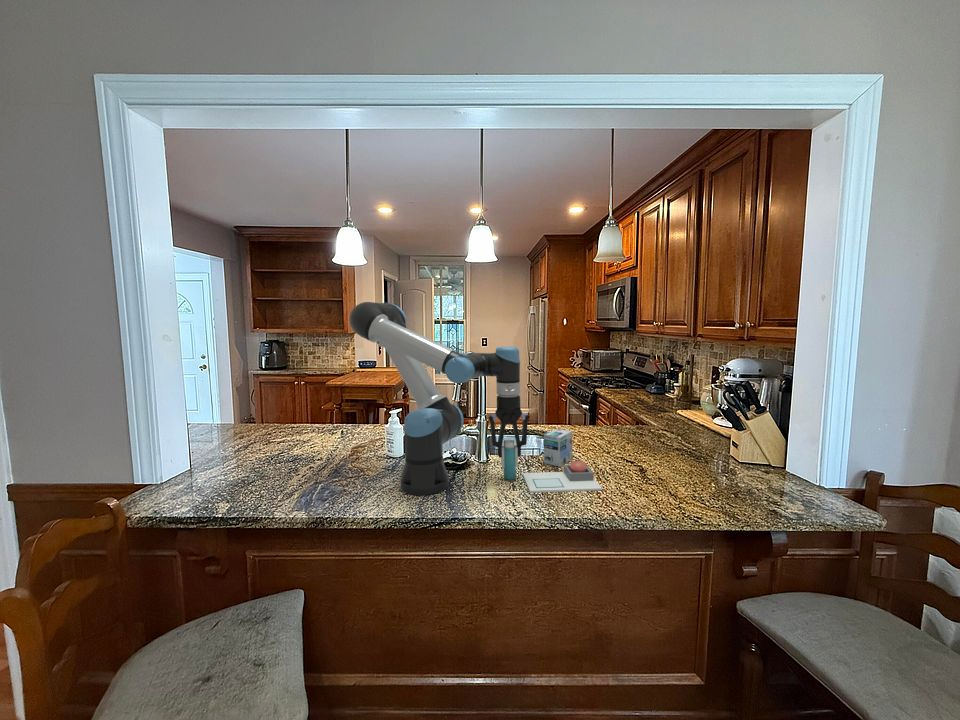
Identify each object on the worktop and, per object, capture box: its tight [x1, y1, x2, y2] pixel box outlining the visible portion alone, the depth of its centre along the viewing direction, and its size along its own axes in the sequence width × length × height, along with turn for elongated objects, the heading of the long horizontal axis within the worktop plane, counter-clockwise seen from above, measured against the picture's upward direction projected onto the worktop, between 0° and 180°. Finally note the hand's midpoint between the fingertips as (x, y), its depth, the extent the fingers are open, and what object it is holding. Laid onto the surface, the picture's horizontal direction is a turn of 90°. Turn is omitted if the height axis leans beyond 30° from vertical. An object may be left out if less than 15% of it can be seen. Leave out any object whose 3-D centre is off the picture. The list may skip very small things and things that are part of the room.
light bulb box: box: [543, 428, 573, 468], centre depth 145 cm, size 11×7×11 cm, turn 143°
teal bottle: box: [502, 439, 517, 481], centre depth 128 cm, size 4×4×12 cm
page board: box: [522, 464, 603, 494], centre depth 126 cm, size 22×14×3 cm, turn 93°
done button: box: [569, 460, 587, 473], centre depth 129 cm, size 5×5×3 cm
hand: (509, 466), depth 129 cm, fingers closed on teal bottle, 4 cm apart
